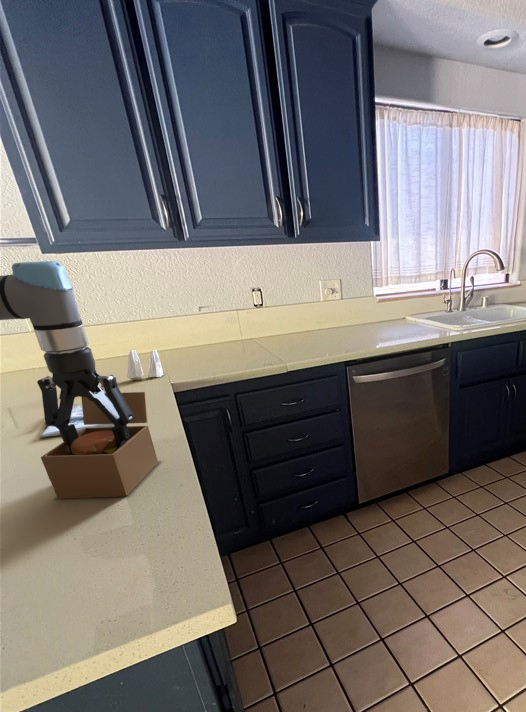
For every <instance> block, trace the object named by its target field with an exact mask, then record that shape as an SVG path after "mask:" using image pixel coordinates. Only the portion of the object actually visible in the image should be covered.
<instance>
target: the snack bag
mask: <svg viewBox="0 0 526 712" xmlns="http://www.w3.org/2000/svg"><path fill="white" fill-rule="evenodd" d="M71 421H72V422H71ZM70 422H71V423H69V424H68V425H70V424H74V425H75V428H76V430H77V432H79V431H80V430H82V429H83V428H85V427H114V426H115V425H114V424H95V425H84V420H83V409H82V405H78V406H77V405H76V406H73V408H72V413H71V418H70ZM45 428H46V429H45V430H44V432H42V433H41V435H40V436H41V438H43V439H44V438H49V437H55V436H56V437H57V436H61V434H60V432H59V429H58V428H56V427H55V426H47V425H46V427H45Z"/></svg>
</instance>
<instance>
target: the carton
mask: <svg viewBox="0 0 526 712" xmlns="http://www.w3.org/2000/svg"><path fill="white" fill-rule="evenodd" d="M112 428H113V427H85V428H83V429H82V430H80V431H79V432H77V433H78V436H79V437H80V436H83V435H86V434H89V433H93V432H98V431H112ZM127 428H128V431H129V434H130V437H129V438H128V439H127V440H128V441H127V442H126V443H125V444H123V445H122V446H121V447H120V448H119V449H117V450H116V451H115V452H114V453H113V454H97V455H71V453H70V450H69V447H68V444H67V442H64V441H63V442H61V443H59V444H58V445H57V446H55V447H54V448H52V449H51V450H49V451H48V452H46V453H45V454H43V455H42V456H41V457H40V459H41V462H42V464H43V467H44V469H45V472H46V474H47V476H48V479H49V481H50V484H51V486H52V489H53V491H54V493H55V496H56V499H79V498H80V499H81V498H85V499H86V498H117V497H127V496H129V495H130V494H131V492H132V491H133V490H135V488H136V487H138V485H139V484H140V483H141V482H142V481H143V479H144V478H146V477H147V475H148V474H149V473H151V471H152V470H153V469H154V468H155V467H156V466H157V465H158V464H159V460H158V457H157V456H158V455H157V452H156V450H155V446H154V442H153V438H152V435H151V432H150V429H149V426H148V425H127Z"/></svg>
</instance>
